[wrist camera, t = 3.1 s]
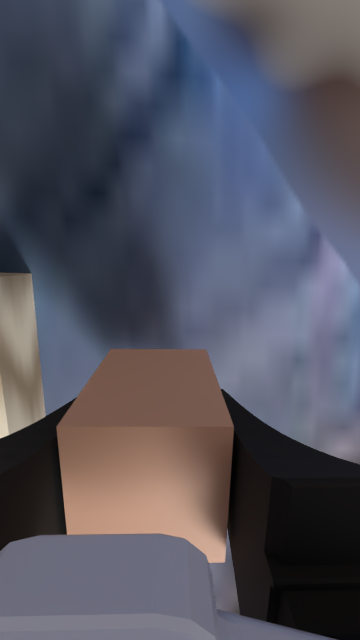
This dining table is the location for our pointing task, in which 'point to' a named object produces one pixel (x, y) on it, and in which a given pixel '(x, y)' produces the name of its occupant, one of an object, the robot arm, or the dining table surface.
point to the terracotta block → (149, 450)
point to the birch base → (19, 355)
